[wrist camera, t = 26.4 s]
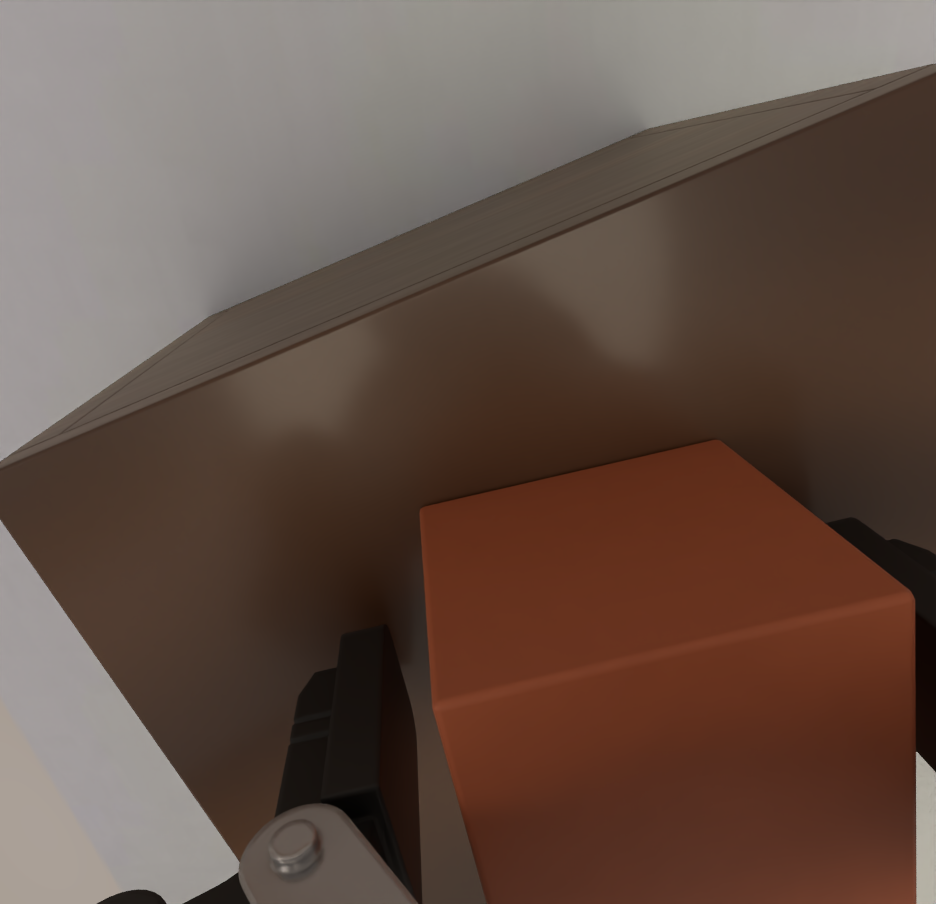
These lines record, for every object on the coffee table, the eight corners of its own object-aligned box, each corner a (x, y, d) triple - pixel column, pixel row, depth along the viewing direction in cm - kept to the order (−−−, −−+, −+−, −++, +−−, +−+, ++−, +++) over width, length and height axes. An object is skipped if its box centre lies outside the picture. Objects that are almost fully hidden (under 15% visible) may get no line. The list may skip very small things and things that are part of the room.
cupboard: (741, 445, 29) (1071, 695, 15) (357, 600, 30) (320, 979, 15) (650, 127, 25) (985, 50, 11) (207, 317, 25) (-31, 480, 11)
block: (479, 748, 14) (522, 1036, 9) (418, 505, 12) (430, 706, 7) (743, 686, 14) (920, 941, 9) (718, 435, 12) (919, 593, 8)
